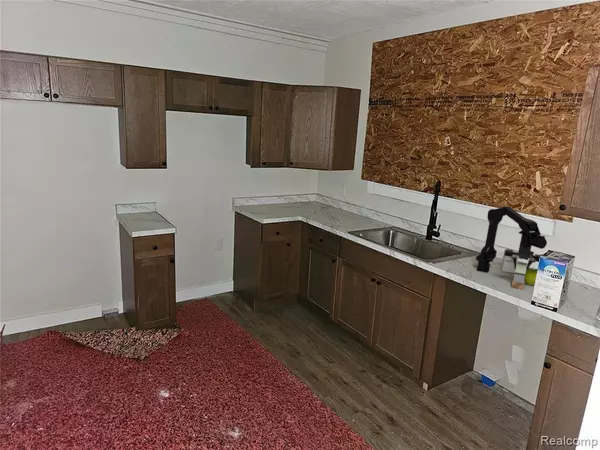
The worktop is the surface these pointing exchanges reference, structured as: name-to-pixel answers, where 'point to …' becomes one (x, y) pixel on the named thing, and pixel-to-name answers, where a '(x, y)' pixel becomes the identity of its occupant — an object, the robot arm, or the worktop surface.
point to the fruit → (530, 276)
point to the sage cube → (521, 267)
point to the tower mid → (519, 277)
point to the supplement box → (508, 264)
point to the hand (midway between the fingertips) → (520, 270)
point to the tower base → (518, 285)
